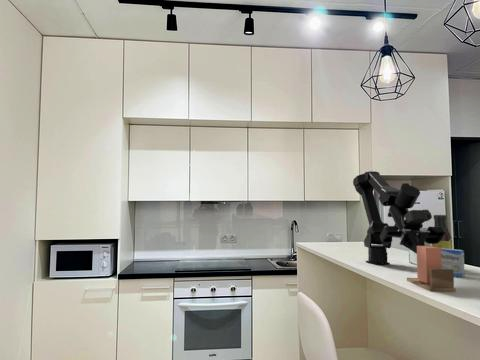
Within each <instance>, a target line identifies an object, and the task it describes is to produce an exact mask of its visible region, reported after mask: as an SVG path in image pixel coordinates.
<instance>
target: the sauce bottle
mask: <svg viewBox="0 0 480 360" xmlns="http://www.w3.org/2000/svg"><path fill="white" fill-rule="evenodd" d="M432 217H433V220H434V224H433V225H434V226H433V227H442V228H443V229H444V231H445V232H446V233H445V234H444V236H443V237H442V239H441V240H440V242H439V243H437V244H431V246H434V247H438V248H446V249H453V245H452V244H453V243H452V236H451V233H450V232H449V229H448V227H447V218H448V217H447V215H446V214H433V216H432Z"/></svg>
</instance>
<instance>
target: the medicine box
mask: <svg viewBox="0 0 480 360" xmlns="http://www.w3.org/2000/svg"><path fill="white" fill-rule="evenodd" d="M441 264H442V269H452V270H453V273H454V277H455V278H464V277H465V275H466V274H465V272H466V271H465V250H463V249H455V248H452V249H446V248H441Z"/></svg>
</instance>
